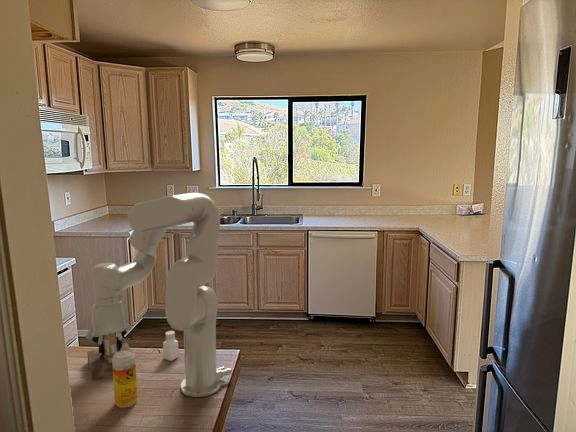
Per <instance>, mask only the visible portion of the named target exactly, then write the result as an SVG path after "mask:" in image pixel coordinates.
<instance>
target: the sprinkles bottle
mask: <svg viewBox="0 0 576 432" xmlns="http://www.w3.org/2000/svg"><path fill="white" fill-rule="evenodd" d="M109 331H110V332H111V329H110V330H109ZM102 341H103V344H104V360H108V358H112V357H113V356H114V354H115V353H116V352H117V350H118V349H117V333H109V334H107V335H103V339H102Z"/></svg>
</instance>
